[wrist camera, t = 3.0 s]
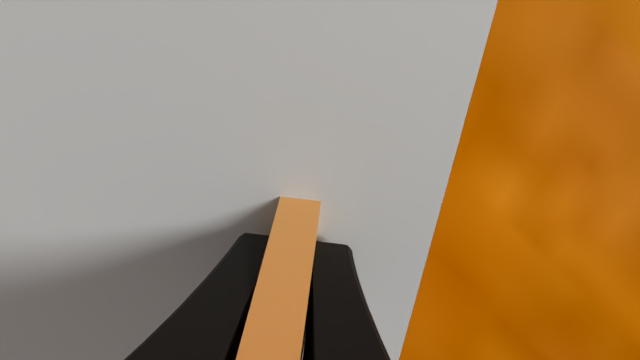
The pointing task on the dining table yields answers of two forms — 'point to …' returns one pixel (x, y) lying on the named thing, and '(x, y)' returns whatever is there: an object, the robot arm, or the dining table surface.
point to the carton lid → (220, 159)
